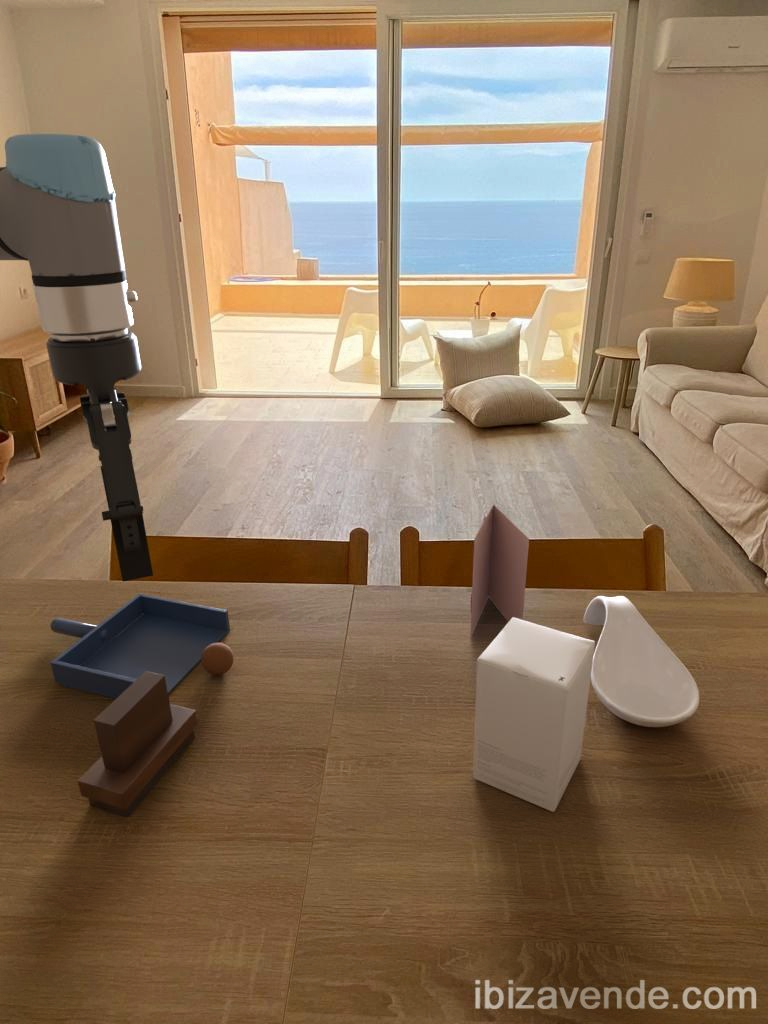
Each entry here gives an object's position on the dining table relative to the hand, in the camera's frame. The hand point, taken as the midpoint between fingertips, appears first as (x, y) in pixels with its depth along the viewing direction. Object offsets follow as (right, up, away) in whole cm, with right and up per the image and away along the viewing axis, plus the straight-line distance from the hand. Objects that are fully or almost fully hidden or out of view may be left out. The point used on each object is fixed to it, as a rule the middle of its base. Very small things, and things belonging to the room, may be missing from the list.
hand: (130, 547), depth 70 cm
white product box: (+41, -23, +3) cm, 47 cm away
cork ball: (+5, -15, +17) cm, 23 cm away
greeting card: (+42, -12, +28) cm, 52 cm away
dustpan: (-9, -15, +23) cm, 29 cm away
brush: (+1, -24, +3) cm, 24 cm away
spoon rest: (+55, -17, +16) cm, 60 cm away
